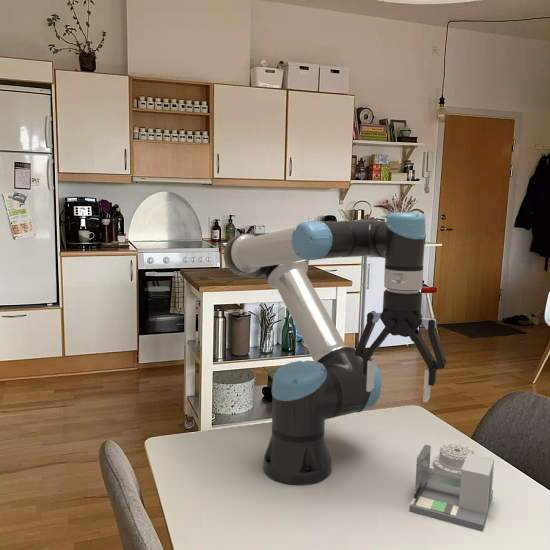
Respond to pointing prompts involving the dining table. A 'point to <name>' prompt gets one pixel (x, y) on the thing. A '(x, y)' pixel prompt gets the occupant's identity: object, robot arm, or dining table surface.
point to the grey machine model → (431, 473)
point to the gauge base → (450, 499)
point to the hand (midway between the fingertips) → (397, 394)
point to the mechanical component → (451, 458)
